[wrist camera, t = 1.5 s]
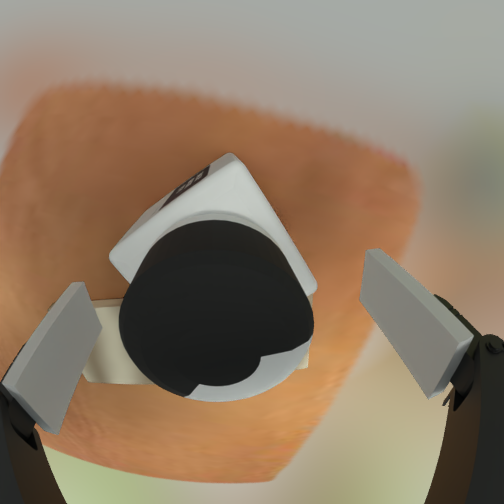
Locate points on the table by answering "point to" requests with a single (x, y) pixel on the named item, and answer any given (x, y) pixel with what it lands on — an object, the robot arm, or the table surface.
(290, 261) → the container
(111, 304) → the metal panel
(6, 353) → the table surface
